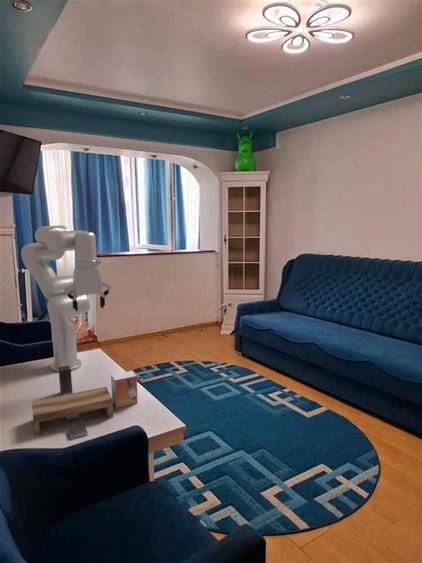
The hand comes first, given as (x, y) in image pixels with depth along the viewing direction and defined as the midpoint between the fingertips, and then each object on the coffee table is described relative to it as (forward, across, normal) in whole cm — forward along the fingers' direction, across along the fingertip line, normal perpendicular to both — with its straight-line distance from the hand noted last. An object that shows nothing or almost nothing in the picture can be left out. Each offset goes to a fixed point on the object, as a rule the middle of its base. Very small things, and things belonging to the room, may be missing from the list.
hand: (89, 308), depth 152 cm
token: (+31, +11, +35) cm, 48 cm away
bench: (+30, +11, +25) cm, 41 cm away
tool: (+30, +11, +14) cm, 35 cm away
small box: (+31, -7, +22) cm, 38 cm away
